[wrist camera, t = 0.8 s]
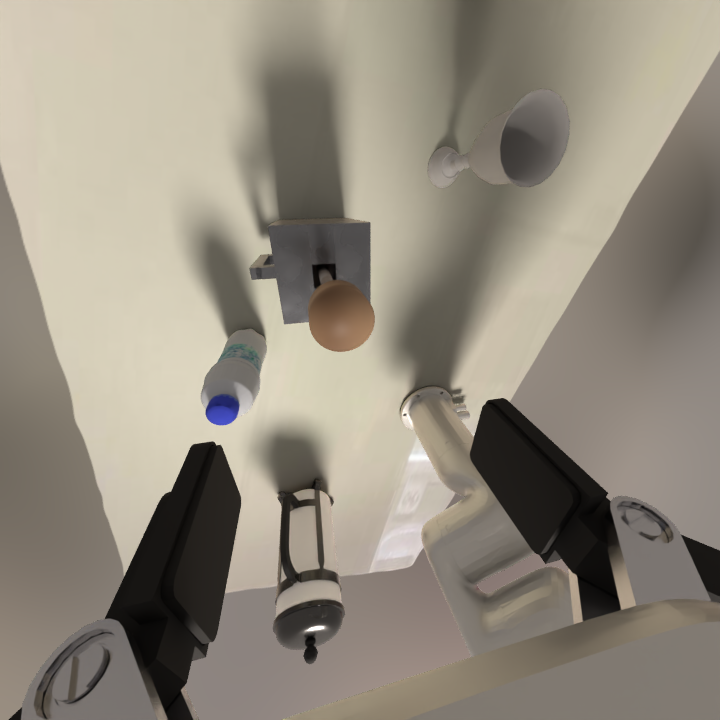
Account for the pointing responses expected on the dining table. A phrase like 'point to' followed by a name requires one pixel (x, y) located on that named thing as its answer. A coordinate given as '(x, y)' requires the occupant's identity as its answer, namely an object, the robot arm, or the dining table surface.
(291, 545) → the coffee press
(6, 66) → the dining table surface
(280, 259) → the grey peg holder block
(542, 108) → the chalice
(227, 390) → the bottle
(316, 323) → the plunger
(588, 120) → the dining table surface
